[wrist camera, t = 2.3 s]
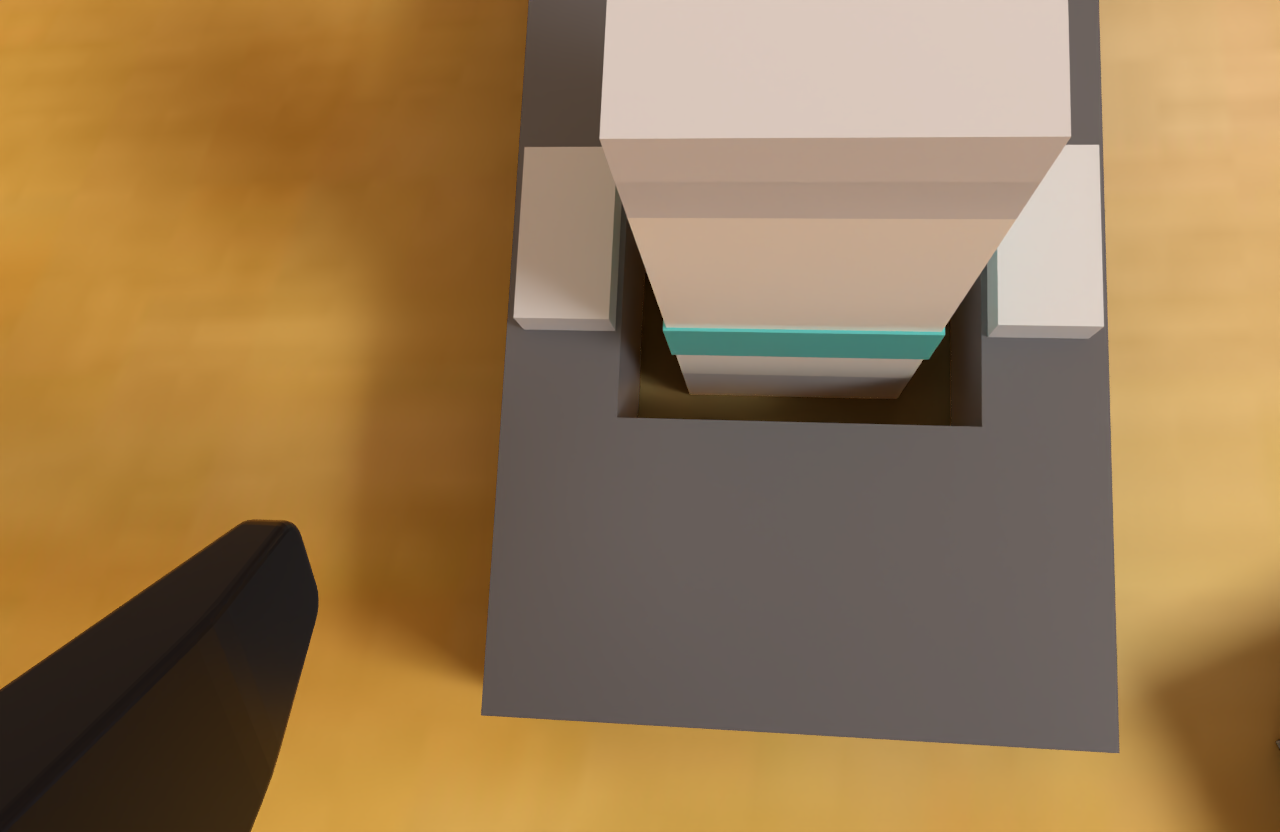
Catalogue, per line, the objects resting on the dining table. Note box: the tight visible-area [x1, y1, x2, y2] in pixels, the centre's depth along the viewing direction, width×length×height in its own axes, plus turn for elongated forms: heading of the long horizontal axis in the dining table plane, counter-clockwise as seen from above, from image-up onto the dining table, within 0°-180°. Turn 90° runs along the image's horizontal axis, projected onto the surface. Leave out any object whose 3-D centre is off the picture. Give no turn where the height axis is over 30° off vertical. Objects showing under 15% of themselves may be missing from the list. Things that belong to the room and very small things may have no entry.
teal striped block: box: [599, 0, 1071, 399], centre depth 15 cm, size 4×4×12 cm
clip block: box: [481, 0, 1119, 753], centre depth 19 cm, size 16×10×4 cm, turn 177°
